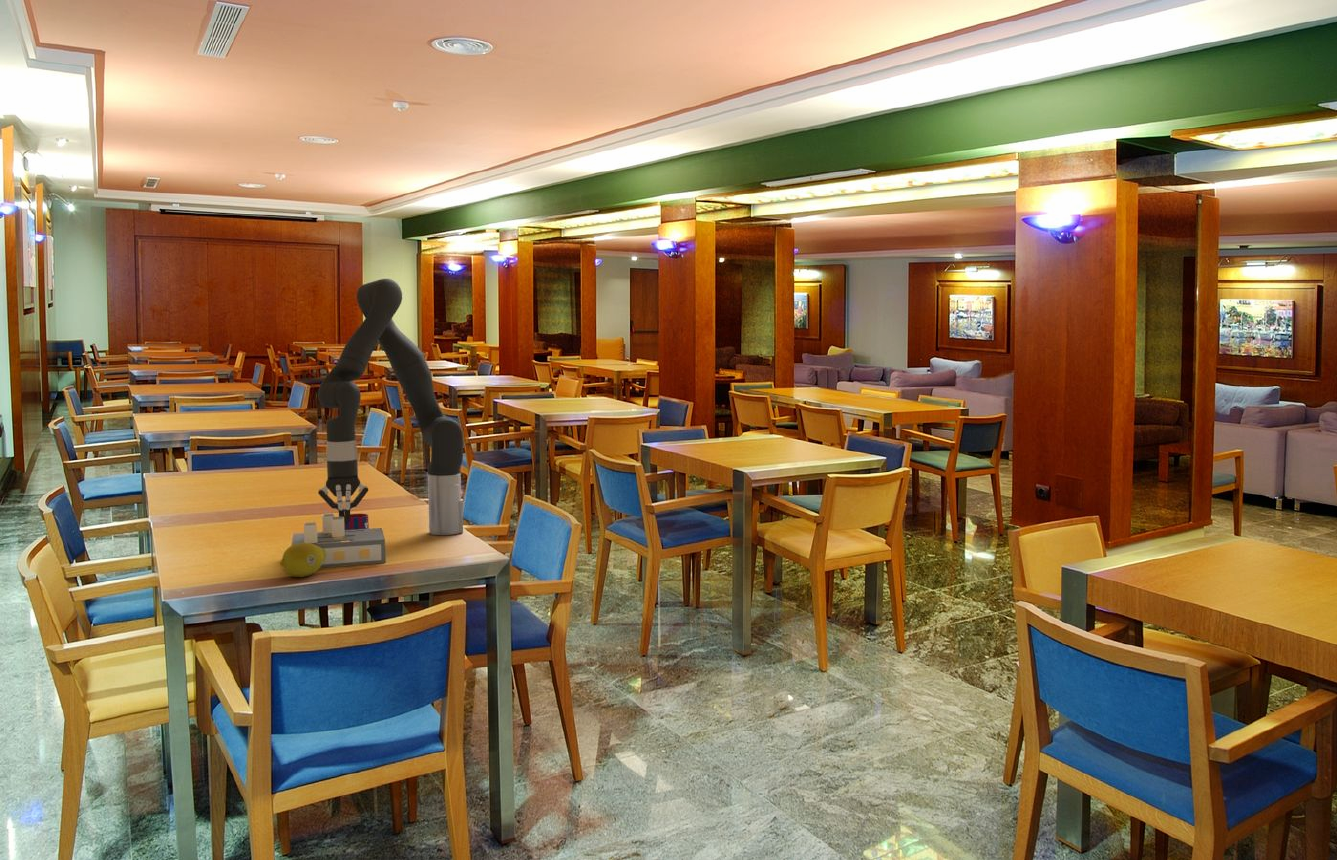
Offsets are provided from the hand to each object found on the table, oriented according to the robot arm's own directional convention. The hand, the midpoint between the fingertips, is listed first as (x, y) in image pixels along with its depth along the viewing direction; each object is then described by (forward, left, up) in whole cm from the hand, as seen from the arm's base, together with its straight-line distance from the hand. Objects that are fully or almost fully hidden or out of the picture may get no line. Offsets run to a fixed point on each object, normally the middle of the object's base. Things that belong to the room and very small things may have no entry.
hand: (344, 523), depth 254 cm
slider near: (+8, +11, -2) cm, 14 cm away
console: (+2, +5, -8) cm, 10 cm away
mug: (-2, -19, -8) cm, 21 cm away
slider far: (+4, 0, -2) cm, 5 cm away
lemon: (+10, +20, -8) cm, 24 cm away
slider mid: (+2, +5, -2) cm, 6 cm away
